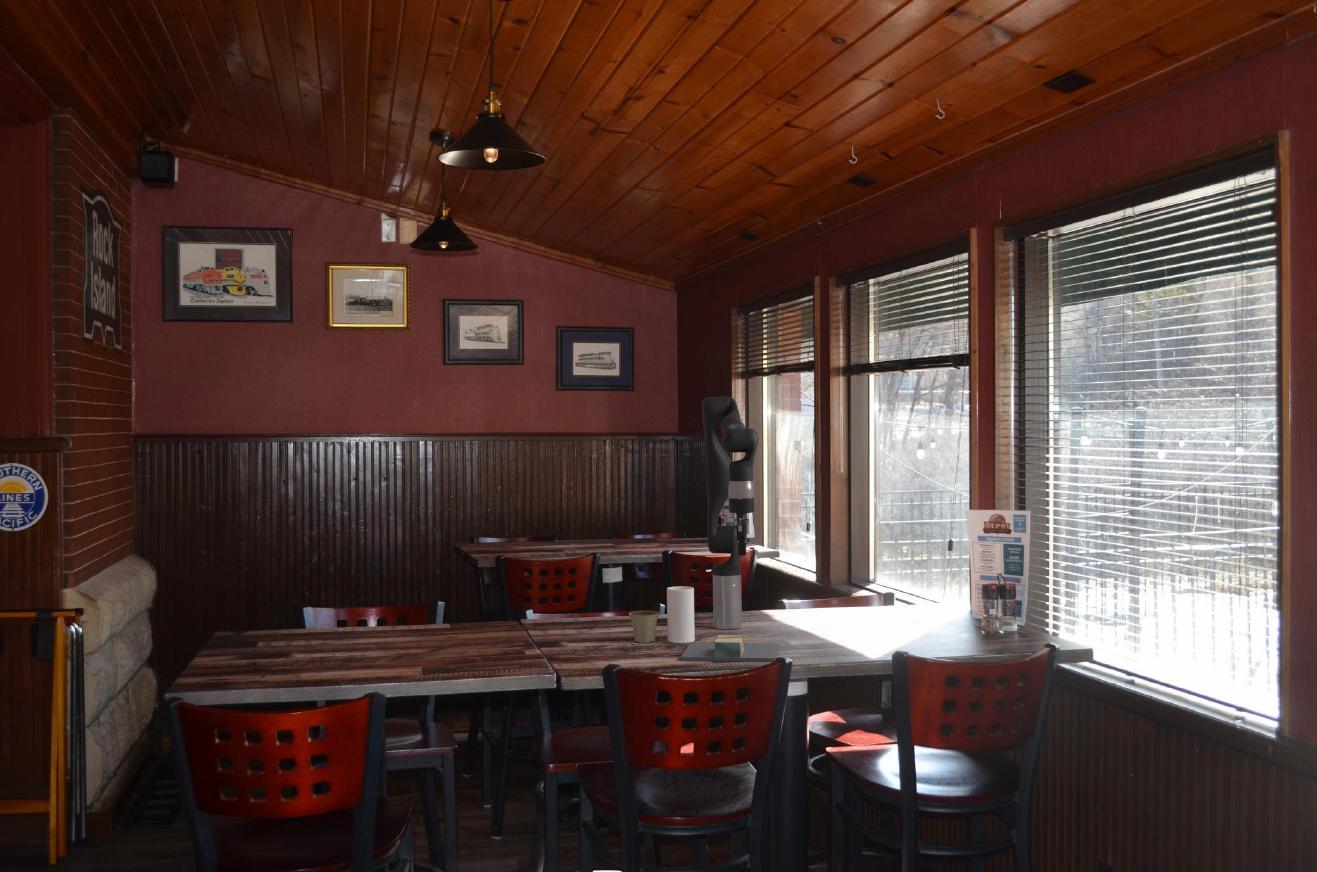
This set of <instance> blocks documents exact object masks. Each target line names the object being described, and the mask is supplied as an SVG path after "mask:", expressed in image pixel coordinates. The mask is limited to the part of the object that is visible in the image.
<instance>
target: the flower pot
mask: <svg viewBox="0 0 1317 872" xmlns="http://www.w3.org/2000/svg"><path fill="white" fill-rule="evenodd" d="M659 615H660V612H659V611H655V610H637V611H635V610H634V611H631V612H629V613H628V616H629V617H630V620H631V625H632V631H633V639H634V642H635V641H636V642H635V643H640V644H644V643H645V644H649V643H652V642H656V632H657V625H658V623H657V622H658V619H659Z"/></svg>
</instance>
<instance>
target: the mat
mask: <svg viewBox="0 0 1317 872" xmlns="http://www.w3.org/2000/svg"><path fill="white" fill-rule="evenodd" d="M779 647H780V646H779V643H777V642H744V650H743V652H742V655H741V657H715V641H714V642H709V641H707V642H706V641H705V642H703V641H702V642H700V641H697V642H696V641H693V642H689V644H688V646H687V647H686V648H685V650H684V651H683V653H682V654H681V656H680V661H689V662H691V661H693V662H694V661H695V662H699V661H700V662H750V663H751V662H753V663H754V662H755V663H757V662H758V663H759V662H760V663H762V662H765V663H772V662H771V661H773V660H775V661H776V659H775V658H777V656H778V655H777V654H778V650H779Z"/></svg>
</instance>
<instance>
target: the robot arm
mask: <svg viewBox="0 0 1317 872" xmlns="http://www.w3.org/2000/svg"><path fill="white" fill-rule="evenodd" d="M737 403H738V402H737V401H736V400H735V399H734V398H733V397H732V396H728V395H727V396H726V395H725V396H712V397H710V396H709V397H705V398H704V399H703V400H702V404H701V414H702V415H701V417H702V425H703V426H702V427H703V436H704V447H705V448H704V450H705V453H704V454H705V482H706V483H705V484H706V486H705V487H706V496H707V497H706V498H707V500H706V501H707V531H706V532H707V533H706V535H707V537H706V538H707V547H708V551H709V552H710V553H711V554H724V555H725V554H727V555H728V554H730V556H729V558H728V559H727V560H725V561H723V562H720V563H717V564H714V565H713V566H712V597H713V598H712V602H713V603H712V607H713V608H712V609H713V612H712V613H713V616H712V617H713V628H714V629H718V630H735V629H741V628H742V627H743V617H742V615H743V609H742V563H741V562H742V560H741V559H742V558H741V557H745V556H747V541H748V535H749V525H750V518H747V514H753V513H754V512H755V487H754V486H755V485H754V463H755V461H754V460H755V457H756V453H757V449H758V446H759V440H760V439H759V434H758V432H757V431H756V430H755V429H754V428H747V427H746V425H744V422H743V421H742V420H741V414H740V410H739V407H738V404H737ZM715 426H720V432H721V434H722V445H721V443H720V441H719V439H718V438H717V436H716V433H715ZM728 453H736V454H737V453H745V455H744V457H743V458H740V459H738V460H734V461H732V459H731V458H730V456H729V455H728ZM727 501H728V512H729V513H731V514H736V518H735V519H734V524H733V525H731V524H729V525H728V524H727V525H726V524H724V525H723V524H722V525H721V524H719V517H720V514H721V512H722V509H723V507H724V505H725V503H726V502H727Z"/></svg>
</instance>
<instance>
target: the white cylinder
mask: <svg viewBox="0 0 1317 872" xmlns="http://www.w3.org/2000/svg"><path fill="white" fill-rule="evenodd" d="M666 609H667V610H666V612H667V613H666V614H667V620H666V621H667V641H668V642H669V643H674V644H687V643H691V642H696V641H695V636H696V635H695V589H694V587H692V586H683V585H682V586H671V587H667V588H666Z"/></svg>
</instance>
